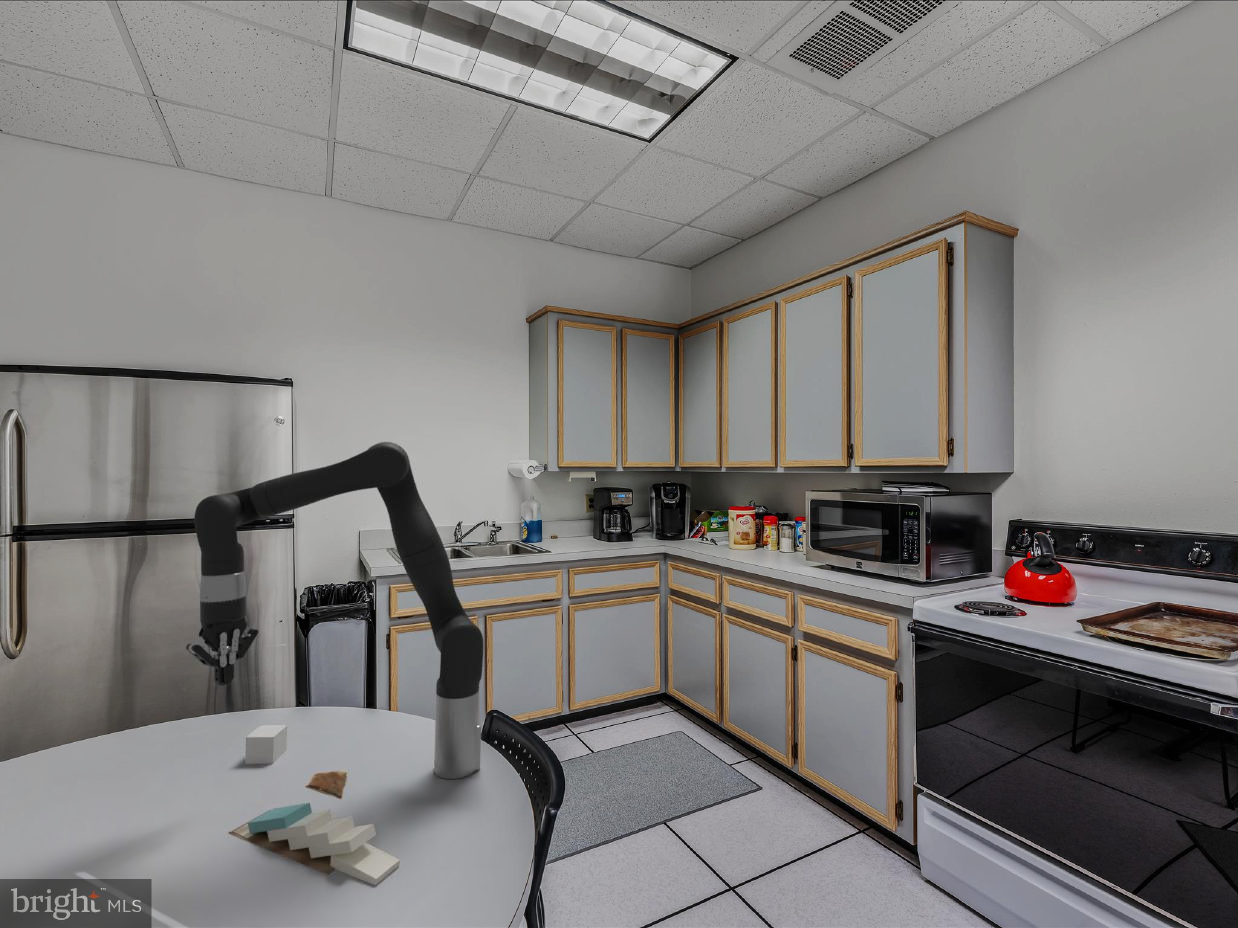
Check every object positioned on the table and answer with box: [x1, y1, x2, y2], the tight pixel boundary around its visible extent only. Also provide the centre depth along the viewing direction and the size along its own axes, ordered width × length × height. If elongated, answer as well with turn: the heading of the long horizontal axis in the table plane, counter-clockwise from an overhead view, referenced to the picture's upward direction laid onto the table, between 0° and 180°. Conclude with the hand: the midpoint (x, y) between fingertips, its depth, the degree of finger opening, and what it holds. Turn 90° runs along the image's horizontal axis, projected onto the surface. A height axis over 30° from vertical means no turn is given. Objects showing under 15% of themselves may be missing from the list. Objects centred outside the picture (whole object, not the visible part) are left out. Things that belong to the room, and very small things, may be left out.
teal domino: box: [248, 802, 313, 833], centre depth 105 cm, size 2×5×10 cm
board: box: [228, 809, 337, 876], centre depth 103 cm, size 25×8×1 cm, turn 66°
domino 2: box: [288, 815, 355, 850], centre depth 101 cm, size 2×5×10 cm
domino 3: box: [309, 823, 377, 858], centre depth 99 cm, size 2×5×10 cm
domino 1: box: [267, 809, 333, 842], centre depth 103 cm, size 2×5×10 cm
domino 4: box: [330, 842, 401, 886], centre depth 97 cm, size 2×5×10 cm
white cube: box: [244, 724, 288, 765], centre depth 133 cm, size 6×6×6 cm
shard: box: [304, 770, 348, 800], centre depth 120 cm, size 11×8×2 cm
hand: (224, 683), depth 115 cm, fingers closed
